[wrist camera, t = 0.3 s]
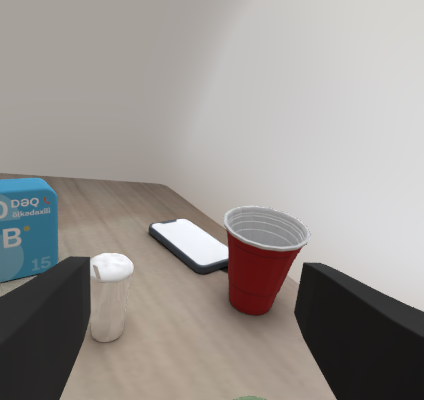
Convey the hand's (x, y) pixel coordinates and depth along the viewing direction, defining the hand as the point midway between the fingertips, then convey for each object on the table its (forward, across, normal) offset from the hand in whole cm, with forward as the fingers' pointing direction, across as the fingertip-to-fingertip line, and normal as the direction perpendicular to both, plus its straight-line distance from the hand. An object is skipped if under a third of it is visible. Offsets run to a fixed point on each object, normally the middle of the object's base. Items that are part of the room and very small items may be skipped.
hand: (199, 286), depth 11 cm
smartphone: (+43, -4, +18) cm, 47 cm away
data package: (+32, +21, +18) cm, 42 cm away
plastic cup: (+28, -11, +20) cm, 36 cm away
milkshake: (+21, +7, +19) cm, 29 cm away
